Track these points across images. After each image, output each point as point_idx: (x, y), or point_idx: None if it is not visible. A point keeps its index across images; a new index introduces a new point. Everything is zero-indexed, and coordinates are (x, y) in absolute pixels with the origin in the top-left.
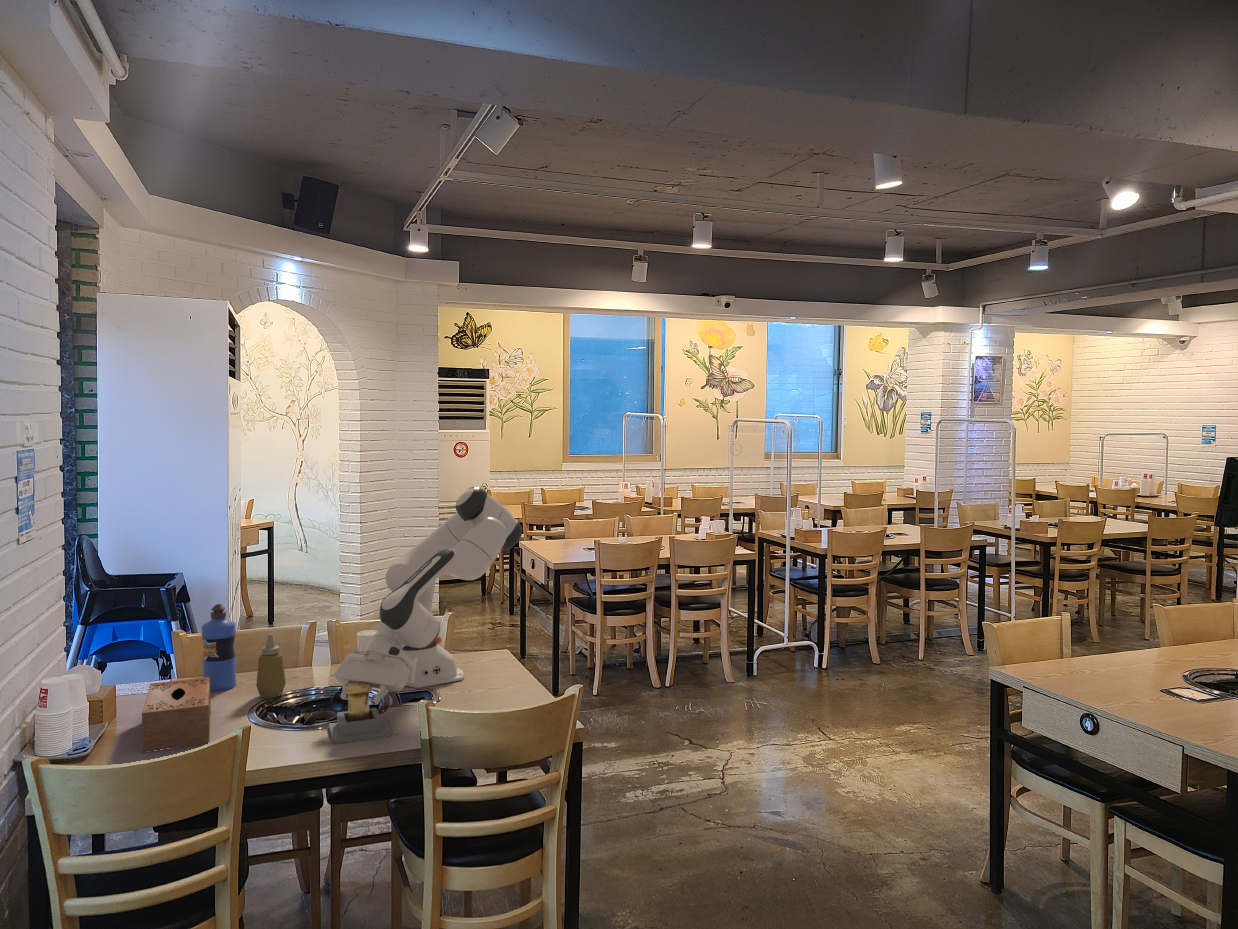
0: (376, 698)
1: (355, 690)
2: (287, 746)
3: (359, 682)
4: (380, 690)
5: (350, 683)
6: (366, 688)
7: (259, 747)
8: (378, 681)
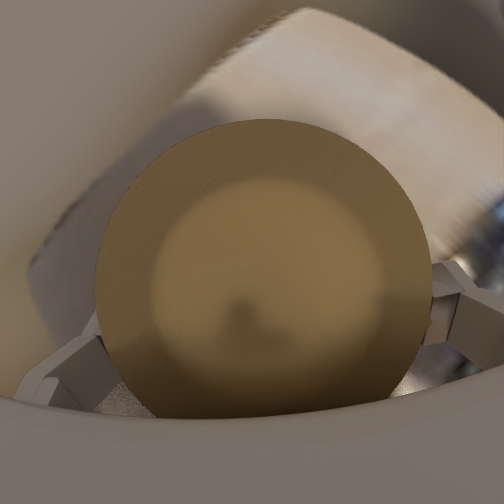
0: (92, 323)
1: (178, 150)
2: (388, 93)
3: (349, 385)
4: (50, 366)
5: (427, 282)
6: (103, 254)
7: (436, 69)
8: (38, 416)
